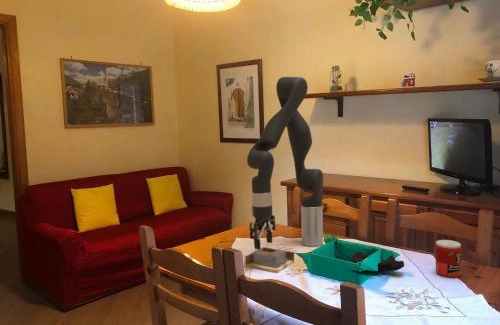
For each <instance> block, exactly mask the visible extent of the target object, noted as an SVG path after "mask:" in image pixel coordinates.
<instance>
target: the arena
mask: <svg viewBox="0 0 500 325" xmlns="http://www.w3.org/2000/svg"><path fill="white" fill-rule="evenodd" d="M259 250H260V251H266V252H274V251H276V250H279V249H276V248H271V247H264V246H263V247H260V249H259ZM282 250H283V251H285V249H282ZM257 251H258V249H256V250H255V251H254V252H251V253H249V254H247V255H245V256H244V257H245V258H244V260H245V267H246V268H251V269H255V270H260V271H265V272H270V273H276V274H278V273H279V274H280V272H282V271H283V270H285V269H286V268H288V267H289V266H291V265H293V264H294V263H295V252H294V251H289V250H286V251H287V262H285V263H283V264H282V265H280V266H279V267H277V268H274V267H269V266H264V265H259V264H254V262H253V253H255V252H257Z"/></svg>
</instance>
